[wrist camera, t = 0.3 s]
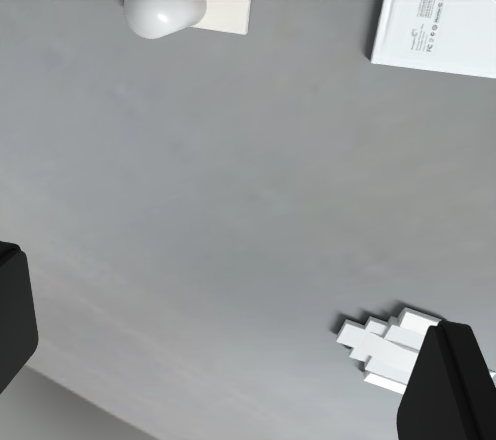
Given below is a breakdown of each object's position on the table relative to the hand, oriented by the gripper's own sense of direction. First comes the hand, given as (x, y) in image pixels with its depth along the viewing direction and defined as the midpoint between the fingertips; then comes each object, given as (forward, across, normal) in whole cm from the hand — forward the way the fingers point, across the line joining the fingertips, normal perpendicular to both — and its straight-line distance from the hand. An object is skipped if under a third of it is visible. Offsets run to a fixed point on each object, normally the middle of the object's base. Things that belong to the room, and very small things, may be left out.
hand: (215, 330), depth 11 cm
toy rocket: (+30, -16, +24) cm, 42 cm away
